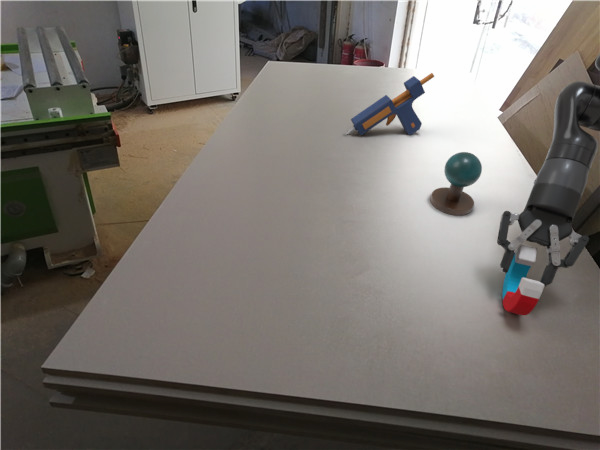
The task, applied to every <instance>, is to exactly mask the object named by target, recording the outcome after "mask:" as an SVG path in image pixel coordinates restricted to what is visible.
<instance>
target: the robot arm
mask: <svg viewBox="0 0 600 450" xmlns="http://www.w3.org/2000/svg"><path fill="white" fill-rule="evenodd" d="M594 65H595V68H596V69H597V70H598V72H600V53H599V54H598V56H597V57H596V59H595V63H594ZM582 127H583V128H586V129H589V130H592V131H596V132H600V85H597V84H593V83H591V82H587V81H582V80H576V81H573V82H571V83H569V84H566V86H565V87H563V88H562V89H561V91H560V92H559V94H558V96H557V98H556V101H555V104H554V111H553V132H552V133H553V134H552V139H551V143H550V146H549V149H548V151H547V154H546V157H545V159H544V162H543V163H542V165H541V168H540V169H539V170H538V173H537V175H536V178H535V179H534V180H533V181H534V182H533V186H532V188H531V191H530V193H529V196H528V199H527V202H526V204H525V206H524V209H523V210H522V211H521V213H519V214H518V213H513V212H511V211H509V210H505V211H504V212H503V213H502V214H501V216H500V221H499V227H498V232H497V233H498V234H497V240H496V243H497V245H498V246H500V247H502V248H503V249H504V253H503V256H502V258H501V261H500V263H499V268H500V269H502V270H501V272H502V273H504V274H506V273H507V272H508V270H509V267H510V265H511V262H512V260H513V257H514V255H515V251H516V250H517V249H518V247H519V246H520V245H522V244H523V242H525V241H527V242H529V243H535V244H537V245H539V246H541V247H545V251H546V254H547V260H548V264H547V265H546V266H545V268H544V270H543V273H542V275H541V277H540V280H539V282H541V283H543V284H544V288H545V287H547V286H550V285H551V284H553V281H554V279H555V276H556V274H557V271H558V269H559V268H564V269H568V268H570V267H573V266H574V265H575V263H576V261H577V260H578V258H579V257H580V256H581V254H582V252H583V250H584V249H585V247H586V246H587V244H588V243H589V241H590V237H589V236H588V235H585V234H584V235H581V234H579V233H577V232H576V231H573V227H572V224H573V221H574V218H575V216H576V213H577V210H578V208H579V205H580V202H581V200H582V198H583V194H584V192H585V189H586V186H587V183H588V178H589V174H590V171H591V168H592V165H593V163H594V161H595V157H596V155H597V153H598V149H599V141H598V139H597V138H595V137H594V136H593V135H591V134H590V133H588V132H587V131H585V130H584V129H582ZM516 221H517V223H518V226H519V228H520V232H521V233H520V234H519V235H518V236H517V237H516V238H514V240H512V241H509V239H508V233H509V229H510V228H509V227H510V226H512V225H514V223H515V222H516ZM567 237H568V238H569V239H570V240H569V245H570V246H571V247H570V249H569V250H568V252H567V253H566V255H565V256H564V258H563V259H562V258H561V254H560V253H561V247H560V246H561V245H560V242H561V241H562V240H564V239H566V238H567Z"/></svg>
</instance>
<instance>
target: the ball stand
mask: <svg viewBox="0 0 600 450" xmlns="http://www.w3.org/2000/svg"><path fill="white" fill-rule="evenodd" d="M443 171H444V176H445V178H446V180H447V182H449V183H450V185H449V187H445V186H444V187H438V188H436V189H434V190H433V191H432V193H431V195H430V198H429V199H430V203H431V205H432V206H433V207H434V208H435V209H436V210H438V211H440V212H441V213H444V214H447V215H451V216H466V215H468V214H470V213H472V211H473V208H474V207H475V200H474V198H473V197H472V196H471V195H469V193H467V192H465V191H463V190H464V188H467V187H470V186H472V185H474V184H475V183H476V182H477V181H478V180H479V179H480V178H481V175H482V171H483V166H482V162H481V160H480V159H479V157H477V156H476V155H475V154H473V153H472V152H467V151H461V152H457V153H455V154H453V155H451V156H450V157H449V158H448V160H446V162H445V165H444V170H443Z"/></svg>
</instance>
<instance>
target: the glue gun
mask: <svg viewBox="0 0 600 450" xmlns="http://www.w3.org/2000/svg"><path fill="white" fill-rule="evenodd" d="M433 78H435V75H434V73H433V72H430V73H429V74H428V75H427V76H425V77H423V78H422V79H419V78H417V77H416V76H415V75H413V76H411V77H410V78H408V79H407V80H406V81H404V82H403V86H404V87H405V89H406V90H404V91H403V92H402V93H401V94H399V95H397V96H396V97H394V98H393V99H391V98H390V96H388V95H387V94H385V95H383V96H382V97H381V98H379V99H377V101H375V102H374V103H372V104H371V105H369V106H368V107H366V108H365V109H363V110H362V111H360V112H359V113H357V114H356V115H355V116H352V117H351V119H350V121H351V123H352V127H351V128H350V129H349V130H348V131H347V132H346V133H345V135H349V134H350V133H353V132H355V131H356V132H358V134H359V135H360V136H362V135H364V134H366V133H367V132H368V131H370V130H371V129H373V128H374V127H376V126H377V125H379V124H381V123H382V122H383V121H386V123H385V125H386V126H387V127H388V126H389V125H390V124H391V123H392V122H393V121H394V120H395V118H396V117H397V119H398V121H399V123H400V125H401V126H402V129H403V130H404V131H405V132H406V133H407V134H408V135H409V136H412V135H413V134H415V133H416V132H418V131H420V130H421V127H422V124H423V123H422V121H421V120H420V118H419V117H418V116H419V115H417V113H416V111H415V110H414V108H413V103H414V102H415V101H416V100H417V99H419V97H421V96H422V95H424V94H425V93H426V91H425V88H424V87H423V85H424V84H426V83H427V82H429V81H431V80H432V79H433Z"/></svg>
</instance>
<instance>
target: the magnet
mask: <svg viewBox="0 0 600 450" xmlns="http://www.w3.org/2000/svg"><path fill="white" fill-rule="evenodd" d="M514 252H515V255H514V257H513V260H512V262H511V265H510V267H509V270H508V272H507V273H505V275H504V280H503V285H502V294H501V296H502V307H503V308H504V310H505V311H506V312H508V313H511V314H514V315H519V316H527V315H529V314H531V312H533V310H534V309H535V307H536V306H537V304H538V303H539V300H540V298H541V296H542V294H543V291H544V288H545V287H544V284H543V283H541V282H540V280H537V279H536V280H535V279H531V278H529V277H527V276H528V273H529V271H530V269H531V268H532V266H533V265H534V264H535V263H536V261H537V254H538V253H537V252H538V248H537V247H533V246H530V245H524V244H520V245H519V246H518V247H517V248H516V249H515V251H514Z"/></svg>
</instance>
